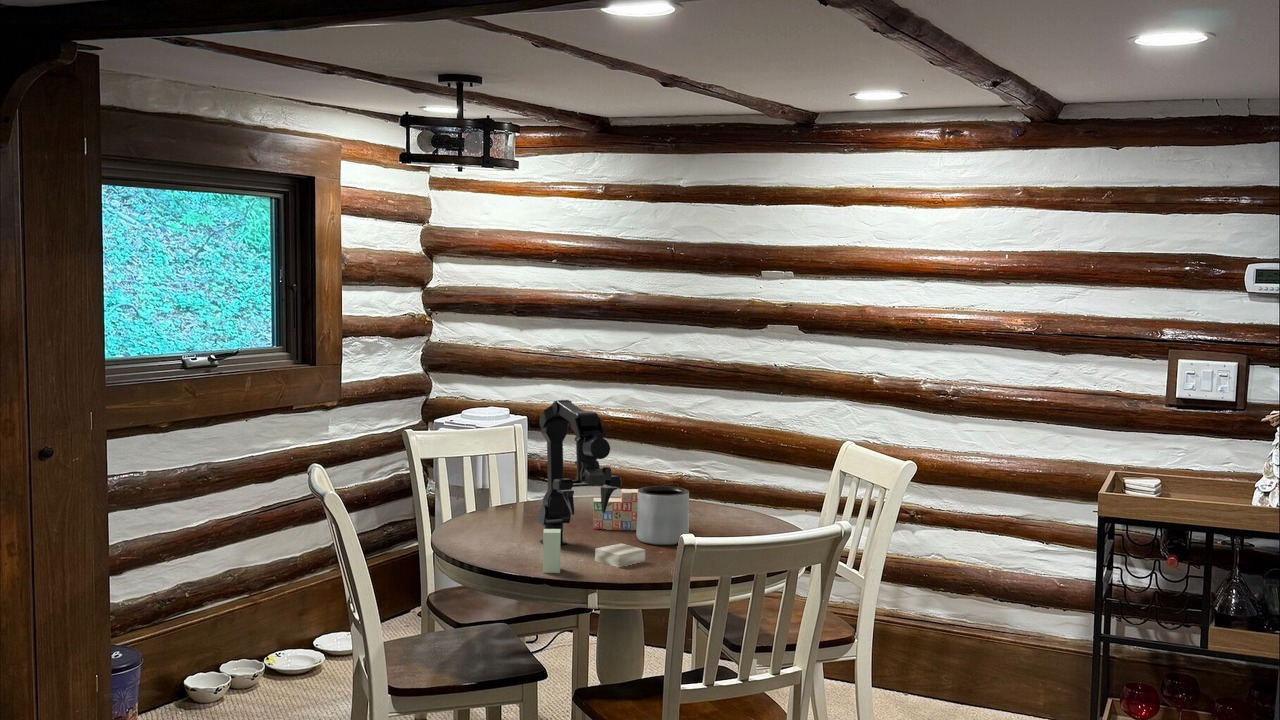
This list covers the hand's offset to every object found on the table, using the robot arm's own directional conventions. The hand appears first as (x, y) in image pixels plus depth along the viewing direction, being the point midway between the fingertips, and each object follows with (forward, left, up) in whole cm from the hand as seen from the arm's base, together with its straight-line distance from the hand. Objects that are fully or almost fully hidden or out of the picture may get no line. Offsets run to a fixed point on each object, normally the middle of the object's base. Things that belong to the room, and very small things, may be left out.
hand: (588, 513), depth 310 cm
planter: (-17, +34, -15) cm, 41 cm away
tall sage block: (+2, -12, -14) cm, 19 cm away
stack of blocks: (-37, +32, -15) cm, 51 cm away
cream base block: (+1, +10, -15) cm, 18 cm away
